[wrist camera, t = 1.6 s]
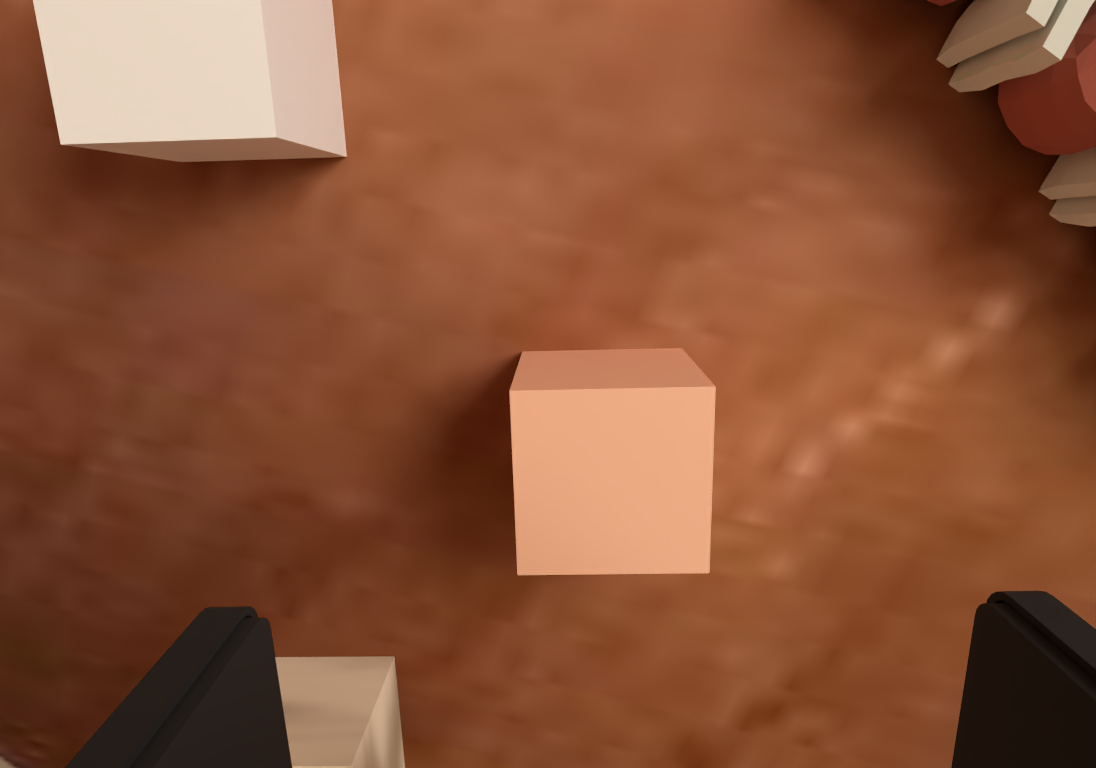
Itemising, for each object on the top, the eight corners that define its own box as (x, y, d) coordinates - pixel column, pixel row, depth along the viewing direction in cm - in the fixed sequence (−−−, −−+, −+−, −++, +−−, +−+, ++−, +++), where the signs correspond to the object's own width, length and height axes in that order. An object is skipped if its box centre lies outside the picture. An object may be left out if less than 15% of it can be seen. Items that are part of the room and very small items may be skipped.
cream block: (347, 157, 20) (276, 137, 15) (183, 162, 20) (60, 144, 15) (329, -31, 19) (246, -118, 14) (155, -24, 19) (12, -107, 14)
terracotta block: (678, 495, 22) (709, 573, 17) (527, 497, 22) (517, 574, 18) (681, 347, 21) (715, 386, 16) (522, 351, 21) (509, 390, 16)
